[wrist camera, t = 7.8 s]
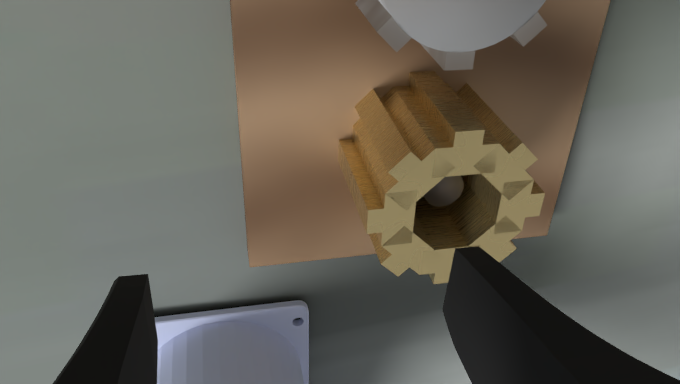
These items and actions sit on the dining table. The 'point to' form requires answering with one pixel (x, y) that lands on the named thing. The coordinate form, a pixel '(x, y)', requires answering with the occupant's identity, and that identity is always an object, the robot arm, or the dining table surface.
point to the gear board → (381, 75)
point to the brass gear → (436, 175)
